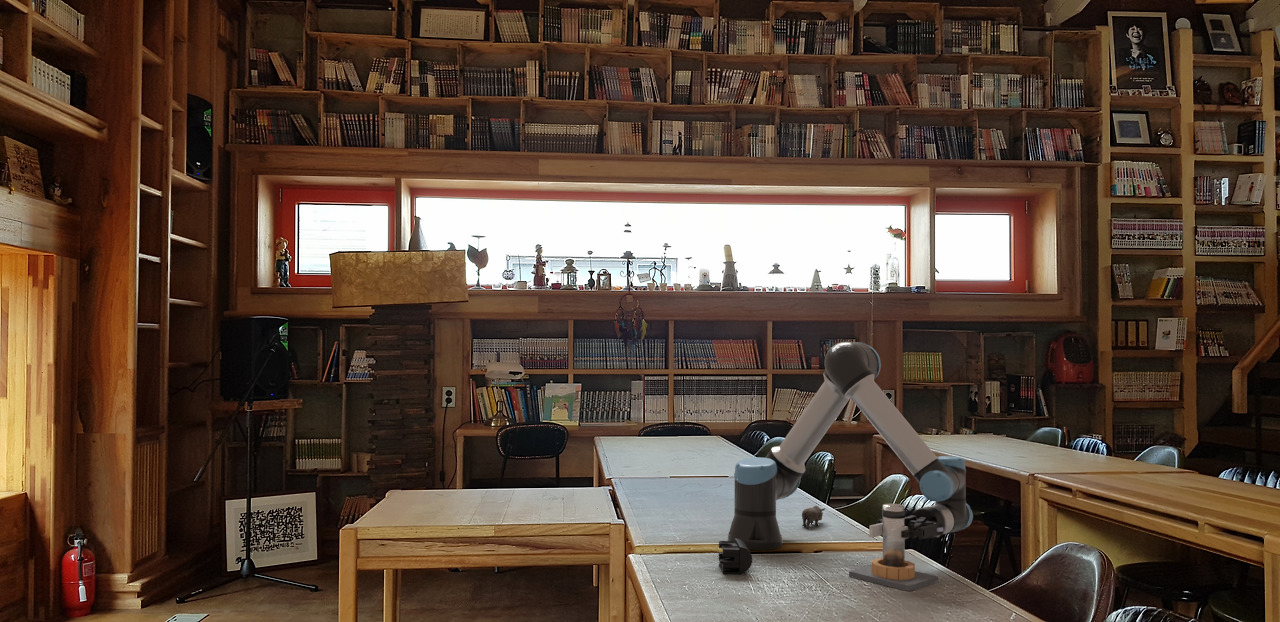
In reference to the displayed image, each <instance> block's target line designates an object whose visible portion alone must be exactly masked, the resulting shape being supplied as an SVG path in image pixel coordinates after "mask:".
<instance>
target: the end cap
mask: <svg viewBox="0 0 1280 622" xmlns="http://www.w3.org/2000/svg"><path fill="white" fill-rule="evenodd" d="M718 549H721V550H722V552H718V561H719V562H718V566H719V569H720V571H721V574H722V575H728V576H729V575H731V576H733V575H734V576H739V575H743V574H745V572H747V571H748V570H750V568H751V567H752V564H753V556H752V553H751V551H750V549H748V548H747V547H746V545H745V543H744V542H743V541H742V540H740V539H737V538H735V541H728V540H720V541H718Z"/></svg>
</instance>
